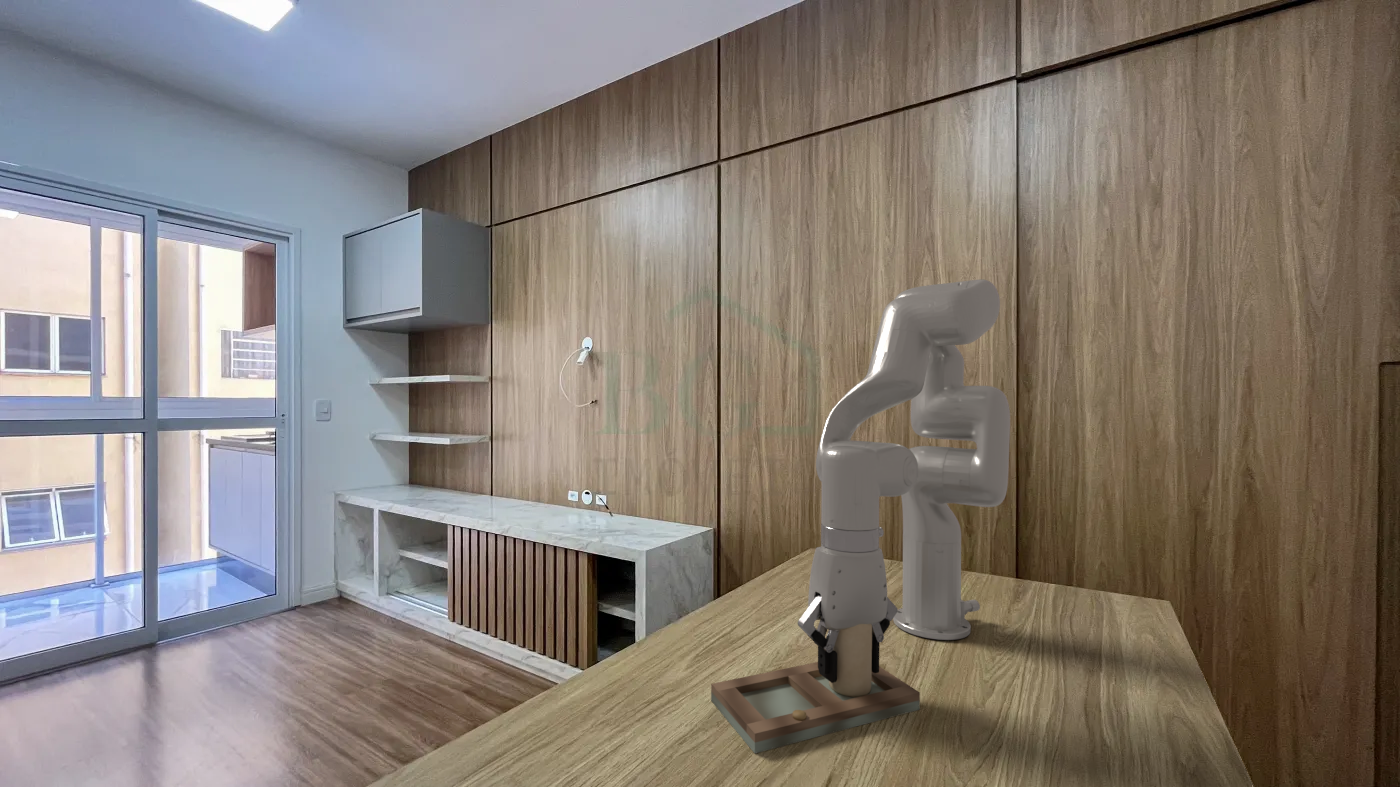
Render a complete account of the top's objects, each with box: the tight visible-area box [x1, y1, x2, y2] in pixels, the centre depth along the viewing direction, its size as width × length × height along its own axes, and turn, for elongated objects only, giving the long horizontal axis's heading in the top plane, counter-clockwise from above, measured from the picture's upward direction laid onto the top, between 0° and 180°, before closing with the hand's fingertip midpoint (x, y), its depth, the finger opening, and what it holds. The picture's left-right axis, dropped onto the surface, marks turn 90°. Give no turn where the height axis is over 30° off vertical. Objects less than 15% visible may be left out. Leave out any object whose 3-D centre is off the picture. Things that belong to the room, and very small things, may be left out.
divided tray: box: [710, 661, 921, 754], centre depth 74 cm, size 24×12×3 cm, turn 113°
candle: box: [829, 624, 872, 697], centre depth 76 cm, size 6×6×10 cm
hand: (848, 671), depth 76 cm, fingers open, 6 cm apart
